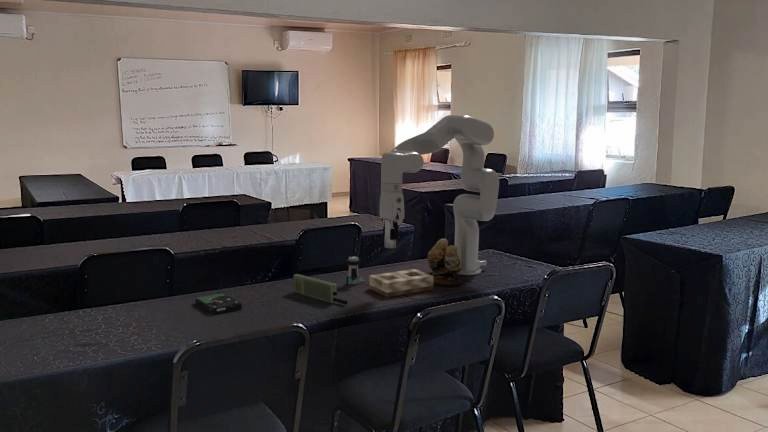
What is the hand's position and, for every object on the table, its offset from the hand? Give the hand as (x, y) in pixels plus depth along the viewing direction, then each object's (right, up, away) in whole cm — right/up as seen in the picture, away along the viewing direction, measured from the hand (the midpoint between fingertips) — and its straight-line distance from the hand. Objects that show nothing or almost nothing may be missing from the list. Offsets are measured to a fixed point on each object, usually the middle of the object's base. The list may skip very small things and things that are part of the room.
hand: (390, 238), depth 237 cm
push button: (-13, -18, +12) cm, 25 cm away
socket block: (+4, -19, +6) cm, 20 cm away
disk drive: (-57, -23, -18) cm, 64 cm away
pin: (0, -3, +1) cm, 3 cm away
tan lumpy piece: (+20, -18, +17) cm, 32 cm away
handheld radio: (-24, -21, -8) cm, 33 cm away
